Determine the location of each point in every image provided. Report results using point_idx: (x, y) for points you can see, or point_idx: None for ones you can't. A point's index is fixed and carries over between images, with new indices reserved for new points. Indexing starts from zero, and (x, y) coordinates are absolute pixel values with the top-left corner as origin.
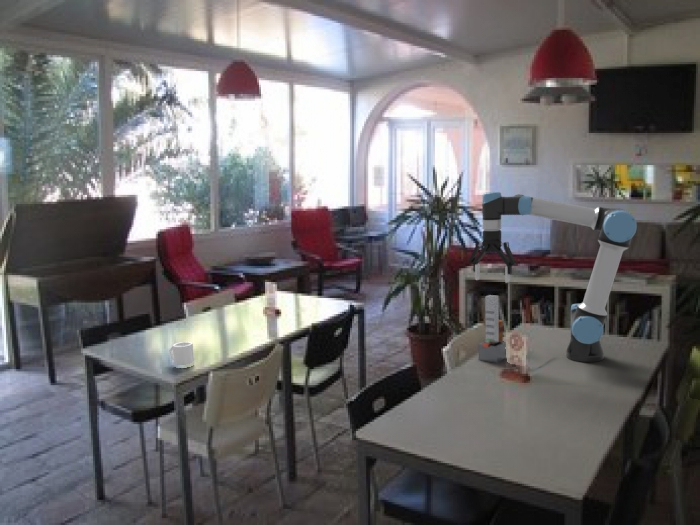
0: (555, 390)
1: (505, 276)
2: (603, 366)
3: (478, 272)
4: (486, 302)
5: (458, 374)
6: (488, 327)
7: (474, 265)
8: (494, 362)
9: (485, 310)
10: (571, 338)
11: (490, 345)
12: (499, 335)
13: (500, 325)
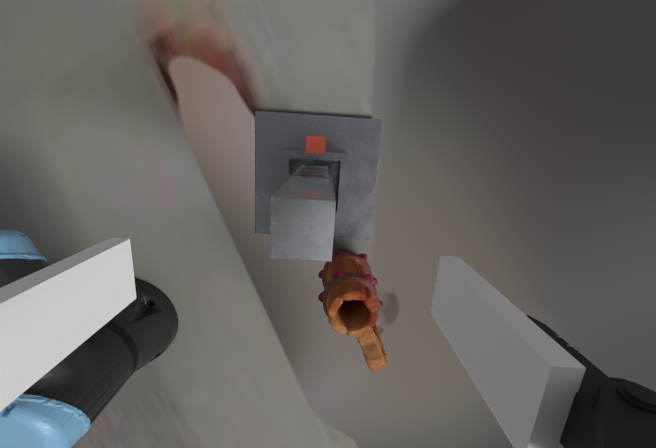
0: (59, 10)
1: (80, 262)
2: None
3: (466, 331)
4: (327, 194)
5: (351, 10)
6: (315, 170)
7: (587, 378)
8: (295, 148)
9: (332, 187)
10: (128, 330)
11: (307, 156)
12: (329, 278)
13: (328, 299)
